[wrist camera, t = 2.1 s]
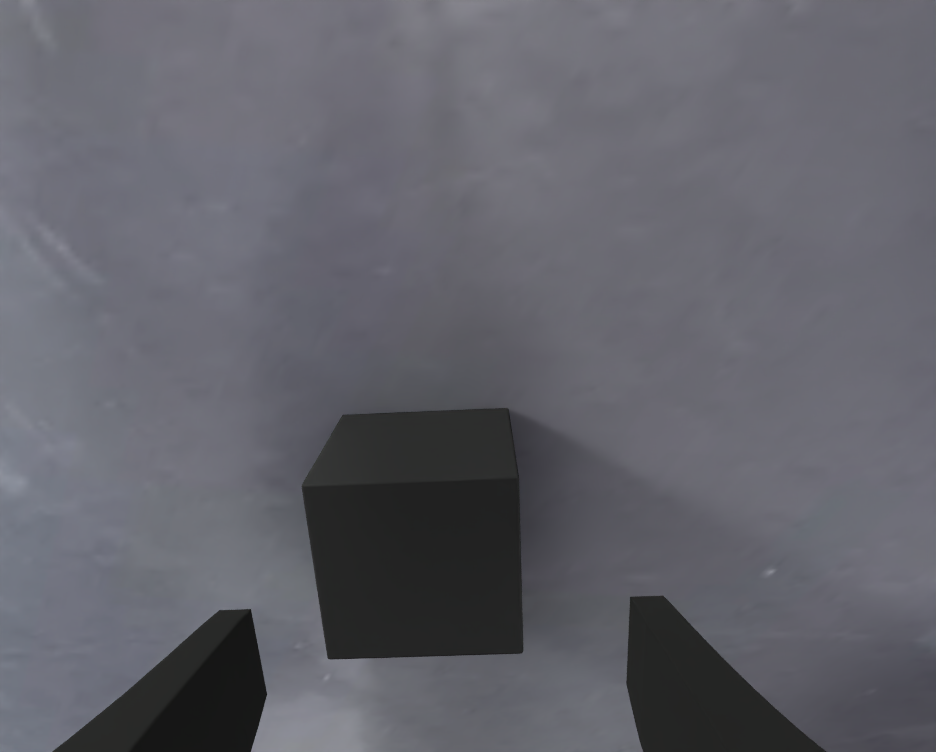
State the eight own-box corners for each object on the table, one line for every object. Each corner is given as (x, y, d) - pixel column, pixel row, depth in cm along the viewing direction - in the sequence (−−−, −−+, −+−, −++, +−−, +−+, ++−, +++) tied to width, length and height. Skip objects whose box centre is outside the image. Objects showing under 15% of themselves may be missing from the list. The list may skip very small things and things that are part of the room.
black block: (513, 551, 20) (523, 654, 15) (359, 557, 20) (326, 660, 16) (508, 407, 18) (518, 476, 14) (341, 414, 18) (300, 484, 14)
